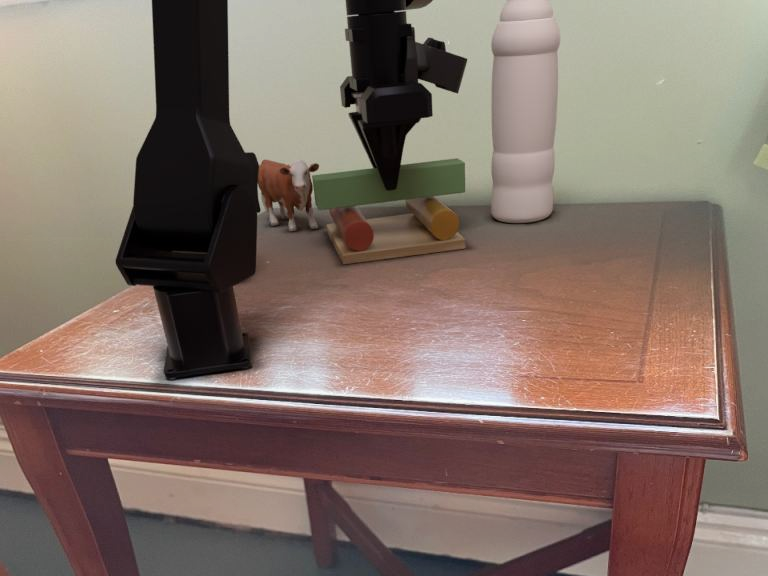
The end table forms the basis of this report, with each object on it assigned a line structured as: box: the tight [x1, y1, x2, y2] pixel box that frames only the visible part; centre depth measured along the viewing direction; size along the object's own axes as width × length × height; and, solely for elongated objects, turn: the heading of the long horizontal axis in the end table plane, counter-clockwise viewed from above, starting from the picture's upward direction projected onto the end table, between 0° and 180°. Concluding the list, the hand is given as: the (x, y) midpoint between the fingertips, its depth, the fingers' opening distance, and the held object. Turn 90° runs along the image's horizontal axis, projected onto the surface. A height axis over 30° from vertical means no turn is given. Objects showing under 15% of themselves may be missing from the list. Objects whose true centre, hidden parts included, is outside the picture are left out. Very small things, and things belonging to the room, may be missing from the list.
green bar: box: [311, 158, 466, 211], centre depth 82 cm, size 3×16×3 cm, turn 100°
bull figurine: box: [258, 158, 320, 232], centre depth 91 cm, size 4×13×8 cm, turn 29°
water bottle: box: [490, 0, 561, 224], centre depth 82 cm, size 7×7×25 cm
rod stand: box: [326, 196, 466, 265], centre depth 84 cm, size 14×13×4 cm
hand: (388, 187), depth 82 cm, fingers closed on green bar, 3 cm apart
